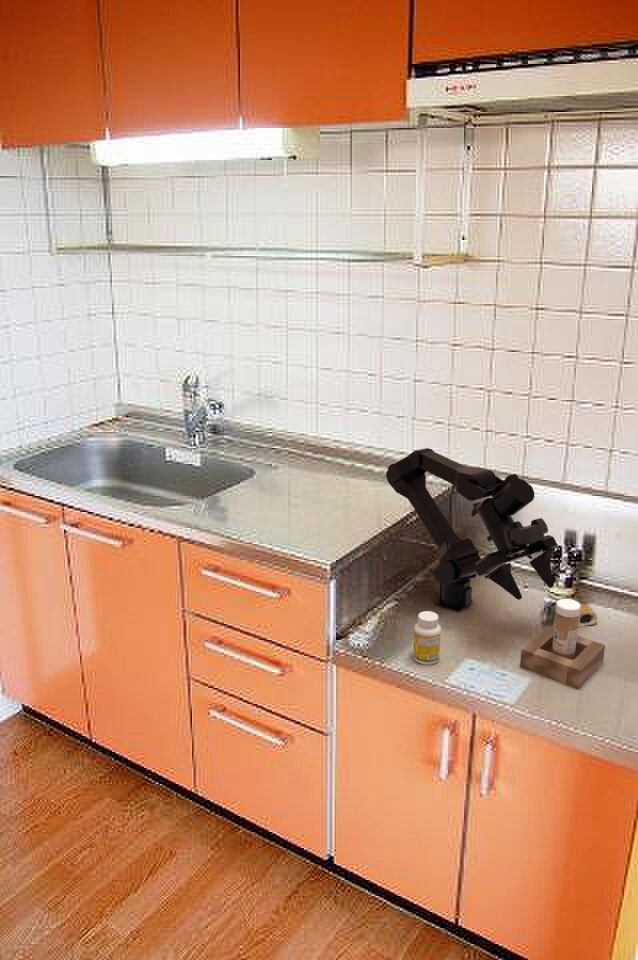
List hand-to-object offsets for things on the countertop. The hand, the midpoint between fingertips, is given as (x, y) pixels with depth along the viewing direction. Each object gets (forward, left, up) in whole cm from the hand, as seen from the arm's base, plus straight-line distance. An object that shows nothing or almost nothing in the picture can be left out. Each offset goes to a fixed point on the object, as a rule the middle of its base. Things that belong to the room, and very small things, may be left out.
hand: (536, 593), depth 159 cm
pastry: (+2, +18, -13) cm, 22 cm away
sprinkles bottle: (+8, -2, -13) cm, 15 cm away
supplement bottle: (-14, -17, -13) cm, 26 cm away
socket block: (+8, -2, -12) cm, 15 cm away
